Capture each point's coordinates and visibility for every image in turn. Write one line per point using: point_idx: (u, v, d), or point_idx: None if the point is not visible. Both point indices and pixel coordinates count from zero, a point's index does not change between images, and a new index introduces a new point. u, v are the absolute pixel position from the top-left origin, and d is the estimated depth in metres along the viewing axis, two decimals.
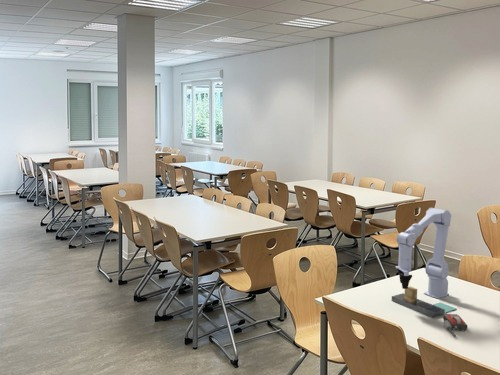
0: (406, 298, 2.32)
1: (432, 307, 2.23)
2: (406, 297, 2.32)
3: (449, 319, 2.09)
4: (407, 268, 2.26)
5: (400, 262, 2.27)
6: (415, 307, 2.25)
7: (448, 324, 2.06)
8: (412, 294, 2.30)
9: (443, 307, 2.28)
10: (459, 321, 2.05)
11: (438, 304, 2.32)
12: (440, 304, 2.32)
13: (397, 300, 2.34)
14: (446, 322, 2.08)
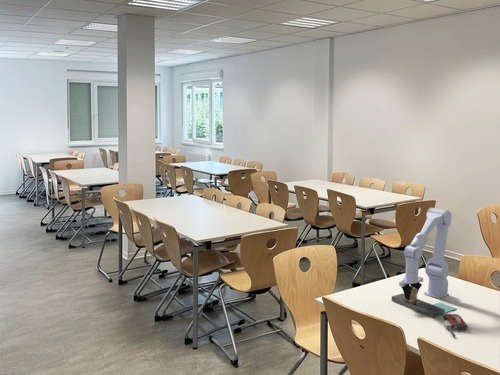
0: None
1: (432, 307, 2.23)
2: None
3: (449, 319, 2.10)
4: (409, 280, 2.29)
5: (405, 273, 2.32)
6: (415, 307, 2.25)
7: (448, 324, 2.06)
8: (412, 294, 2.30)
9: (443, 307, 2.28)
10: (459, 321, 2.05)
11: (438, 304, 2.32)
12: (440, 304, 2.32)
13: (397, 300, 2.34)
14: (446, 322, 2.08)
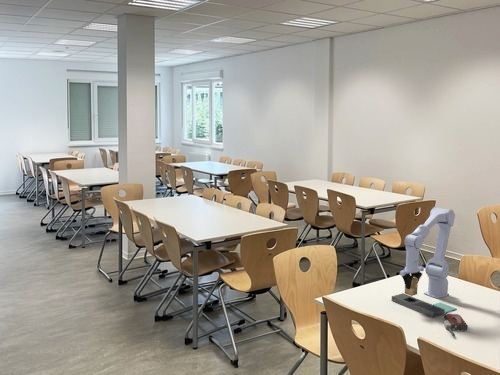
0: (406, 288, 2.31)
1: (432, 307, 2.23)
2: None
3: (450, 319, 2.10)
4: (409, 270, 2.28)
5: (406, 263, 2.31)
6: (415, 307, 2.25)
7: (448, 324, 2.06)
8: (412, 283, 2.29)
9: (443, 307, 2.28)
10: (459, 321, 2.05)
11: (438, 304, 2.32)
12: (440, 304, 2.32)
13: (397, 300, 2.34)
14: (446, 322, 2.08)
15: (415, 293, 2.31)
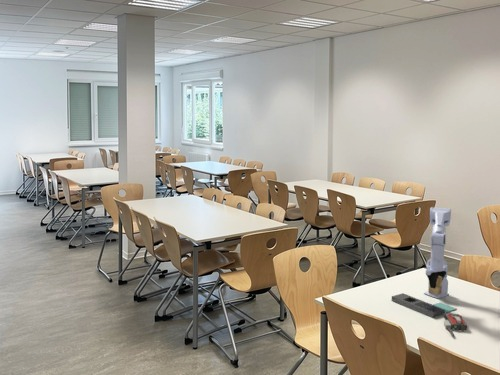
0: None
1: (432, 307, 2.23)
2: None
3: (450, 319, 2.10)
4: (435, 269, 2.24)
5: (430, 261, 2.27)
6: (415, 307, 2.25)
7: (448, 324, 2.06)
8: (438, 282, 2.25)
9: (443, 307, 2.28)
10: (459, 321, 2.05)
11: (438, 304, 2.32)
12: (440, 304, 2.32)
13: (397, 300, 2.34)
14: (446, 322, 2.08)
15: (439, 292, 2.27)
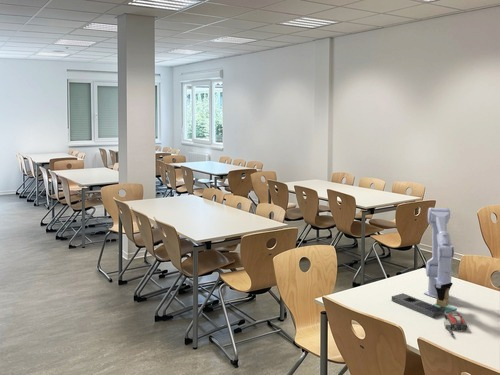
0: None
1: (432, 307, 2.23)
2: None
3: (450, 318, 2.10)
4: (443, 281, 2.24)
5: (438, 274, 2.26)
6: (415, 307, 2.25)
7: (448, 323, 2.07)
8: (446, 294, 2.25)
9: (443, 307, 2.28)
10: (459, 321, 2.05)
11: None
12: None
13: (397, 300, 2.34)
14: (446, 321, 2.09)
15: (447, 303, 2.27)
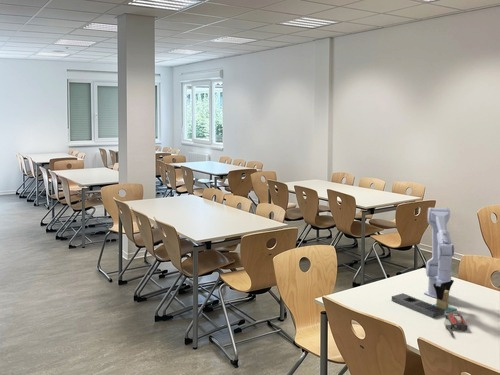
0: (438, 302, 2.27)
1: (432, 307, 2.23)
2: (438, 300, 2.27)
3: (450, 318, 2.10)
4: (443, 279, 2.23)
5: (438, 272, 2.26)
6: (415, 307, 2.25)
7: (448, 323, 2.07)
8: (446, 297, 2.25)
9: None
10: (459, 321, 2.05)
11: None
12: None
13: (397, 300, 2.34)
14: (446, 321, 2.09)
15: (447, 306, 2.27)
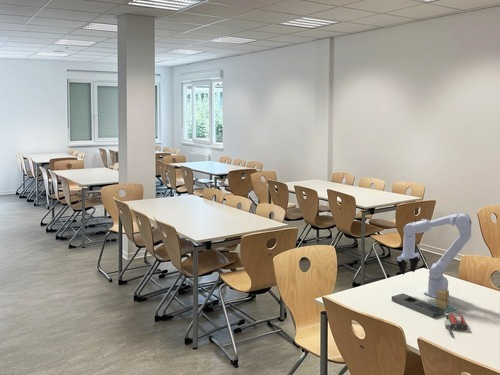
0: (438, 302, 2.27)
1: (432, 307, 2.23)
2: (438, 300, 2.27)
3: (450, 318, 2.10)
4: (406, 256, 2.47)
5: (403, 249, 2.50)
6: (415, 307, 2.25)
7: (448, 323, 2.07)
8: (446, 297, 2.25)
9: None
10: (459, 321, 2.05)
11: None
12: None
13: (397, 300, 2.34)
14: (447, 321, 2.09)
15: (447, 306, 2.27)
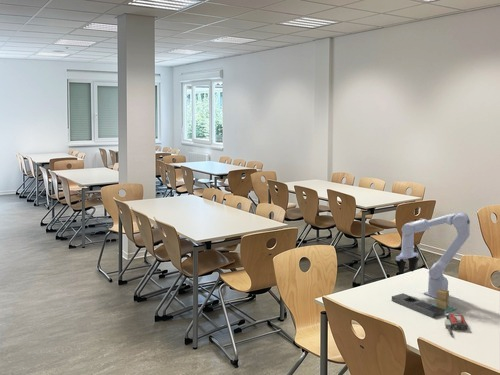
0: (438, 302, 2.27)
1: (432, 307, 2.23)
2: (438, 300, 2.27)
3: (451, 318, 2.10)
4: (404, 255, 2.48)
5: None
6: (415, 307, 2.25)
7: (448, 323, 2.07)
8: (446, 297, 2.25)
9: None
10: (459, 321, 2.05)
11: None
12: None
13: (397, 300, 2.34)
14: (447, 321, 2.09)
15: (447, 306, 2.27)
